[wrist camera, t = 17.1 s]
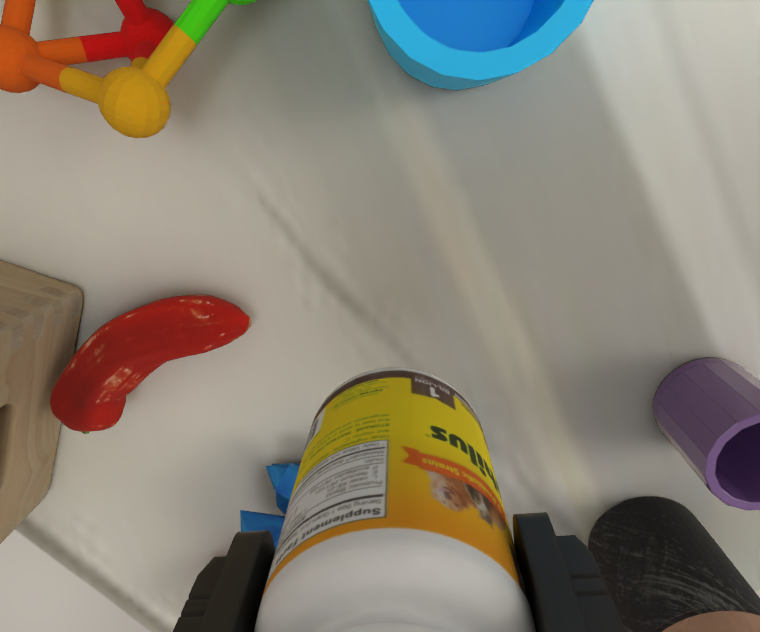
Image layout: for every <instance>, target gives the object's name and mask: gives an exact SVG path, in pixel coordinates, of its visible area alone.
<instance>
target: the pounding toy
mask: <svg viewBox="0 0 760 632" xmlns="http://www.w3.org/2000/svg"><path fill="white" fill-rule="evenodd" d="M82 304H83V296H82V292H81V291H80V290H79V288H77V287H75V286H73V285H70V284H67V283H65V282H62V281H59V280H56V279H53V278H50V277H47V276H44V275H41V274H38V273H36V272H33V271H30V270H27V269H24V268H21V267H18V266H15V265H13V264H10V263H7V262H4V261H1V260H0V544H1V543H2V542H3V541H4V539H6V537H7V536H8V535H9V534H10V533H11V532H12V531H13V530H14V529H15V528H16V527H17V526H18V525H19V524H20V523H21V522H22V521H23V520H24V519H25V518H26V517H27V516H28V515H29V514H30V512H31V511H32V510H33V509H34V508H35V507H36V506H37V505H38V504H39V503H40V502H41V501H42V500H43V499H44V498H45V496H46V495H47V492H48V490H49V485H50V481H51V475H52V469H53V464H54V458H55V453H56V448H57V443H58V438H59V432H60V426H61V421H60V420H59V419H58V418H56V417H55V416H54V414H53V413H52V410H51V407H50V398H51V394H52V391H53V388H54V386H55V384H56V383H57V381H58V380H59V378H60V376H61V374H62V373H63V371H64V370H65V368H66V366H67V365H68V363H69V362H70V360H71V359H72V357H73V355H74V348H75V343H76V338H77V333H78V327H79V322H80V317H81V311H82Z"/></svg>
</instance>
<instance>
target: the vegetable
mask: <svg viewBox="0 0 760 632" xmlns="http://www.w3.org/2000/svg"><path fill="white" fill-rule="evenodd" d="M250 325H251V319H250V317H249V316H248V315H246V314H245V313H244V312H243V311H242V310H241V309H240V308H239V307H238V306H236V305H234V304H232V303H230V302H228V301H225V300H223V299H220V298H217V297H214V296H209V295H184V296H176V297H170V298H165V299H160V300H158V301H155V302H152V303H150V304H147V305H144V306H142V307H139V308H136V309H134V310H132V311H130V312H127V313H125V314H123V315H121V316H118V317H116V318H114V319H113V320H111V321H109V322H108V323H106V324H105V325H103V326H102V327H101V328H99V329H98V330H97V331H96V332H95V333H94V334H93V335H92V336H91V337H90V338H89V339H88V340H87V341H86V342H85V343H84V344H83V345H82V346H81V347H80V349H79V350H78V351H77V352H76V353H75V355H74V356H73V357H72V359H71V360H70V362H69V363H68V365H67V366H66V368H65V370H64V371H63V373H62V374H61V376H60V378H59V380H58V381H57V383H56V384H55V386H54V388H53V391H52V394H51V398H50V407H51V410H52V413H53V414H54V416H55V417H56V418H58V419H59V420H60V421H61V422H62V423H63V424H64V425H65V426H67V427H68V428H70V429H72V430H76V431H82V433H84V434H87V433H89V432H90V431H100V430H105V429H107V428H110V427H112V426H113V425H115V424H116V423H117V422H118V420H119V419H120V417H121V415H122V412H123V409H124V406H125V402H126V394H128V393H130V392H131V391H133V390H134V389H135V388H136V387H137V386H138V385H139V384H140V382H141V381H142V380H144V379H145V378H146V377H147V376H148V375H149V374H150V373H151V372H153V371H154V370H155V369H156V368H158V367H159V366H160V365H162V364H163V363H165V362H167V361H170V360H173V359H177V358H182V357H186V356H190V355H196V354H200V353H205V352H208V351H211V350H213V349H216V348H219V347H221V346H224V345H226V344H228V343H230V342H232V341H234V340H235V339H237V338H238V337H239V336H241V335H243V334H244V333H245V332H246V331H247V330H248V328H249V327H250Z"/></svg>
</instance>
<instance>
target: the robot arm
mask: <svg viewBox="0 0 760 632" xmlns="http://www.w3.org/2000/svg"><path fill="white" fill-rule="evenodd" d="M513 532H514V547H515V551H516V555H517V559H518V563H519V566H520V569H521V573H522V577H523V581H524V585H525V588H526V592H527V595H528V598H529V602H530V606H531V610H532V614H533V619H534V624H535V628H536V632H626V630H625V628H624V625H623V623H622V621H621V618H620V616H619V614H618V611H617V609H616V607H615V604H614V602H613V600H612V597H611V595H609V591H608V588H607V586H606V584H605V581H604V579H603V577H602V576H601V572H600V570H599V567H598V565H597V563H596V560H595V558H594V556H593V553H592V552H591V551H590V550H589V549H588V548H587V547H586V546H585V545H584V544H583V543H582V542H581V541H580V540H579V539H578V538H577V537H576V536H575V535H570V536H556V535H555V532H554V530H553V527H552V524H551V521H550V519H549V516H548V514H547V513H546V512H543V513H528V514H514V515H513ZM275 551H276V549H275V545H274V541H273V537H272V534H271V532H270V531H269V530H262V531H247V532H238V533H236V535H235V537H234V539H233V541H232V544H231V546H230V549H229V551H228V554H227V556H226V557H214V558H213V559H212V560H211V561H210V563H209V564H208V565H207V566H206V567H205V568H204V569H203V570H202V571H201V573H200V574H199V575H198V576H197V578H196V581H195V583H194V585H193V587H192V590H191V592H190V594H189V600H187V601H186V603H185V605H184V608H183V610H182V612H181V617H179V619H178V621H177V624H176V626H175V628H174V630H173V632H254V629H255V624H256V620H257V615H258V611H259V607H260V603H261V599H262V596H263V593H264V589H265V586H266V582H267V579H268V575H269V572H270V568H271V565H272V561H273V558H274V555H275Z"/></svg>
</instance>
